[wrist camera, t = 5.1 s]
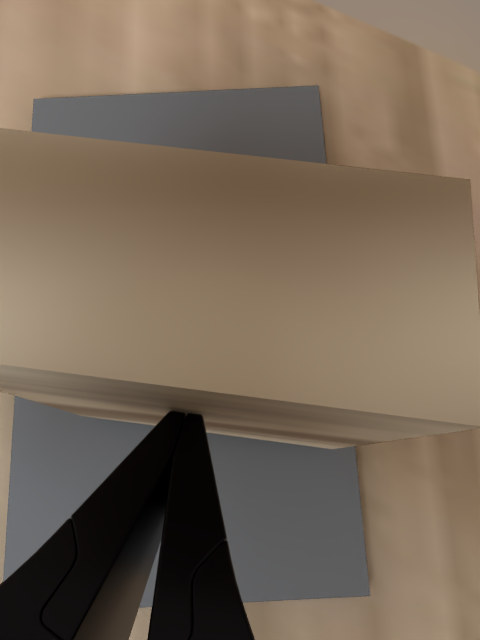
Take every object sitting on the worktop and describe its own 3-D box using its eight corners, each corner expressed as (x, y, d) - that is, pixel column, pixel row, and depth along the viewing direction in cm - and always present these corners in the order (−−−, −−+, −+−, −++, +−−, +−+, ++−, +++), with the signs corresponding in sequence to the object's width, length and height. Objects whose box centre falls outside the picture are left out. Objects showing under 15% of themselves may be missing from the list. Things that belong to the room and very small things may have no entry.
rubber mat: (366, 590, 16) (370, 595, 15) (8, 608, 16) (1, 614, 15) (316, 92, 21) (318, 85, 20) (38, 106, 21) (33, 98, 20)
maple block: (331, 449, 16) (487, 427, 6) (82, 416, 16) (-155, 344, 6) (337, 331, 18) (468, 161, 8) (110, 303, 18) (-45, 106, 8)
